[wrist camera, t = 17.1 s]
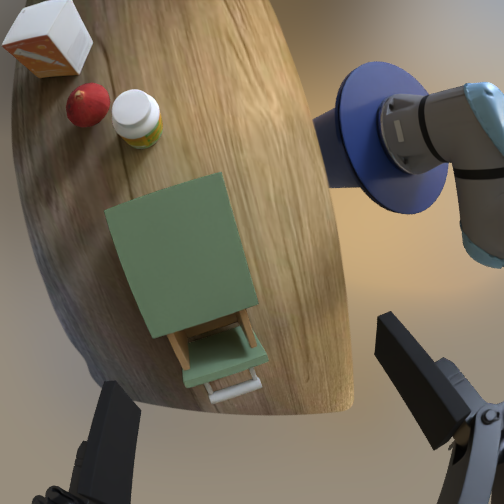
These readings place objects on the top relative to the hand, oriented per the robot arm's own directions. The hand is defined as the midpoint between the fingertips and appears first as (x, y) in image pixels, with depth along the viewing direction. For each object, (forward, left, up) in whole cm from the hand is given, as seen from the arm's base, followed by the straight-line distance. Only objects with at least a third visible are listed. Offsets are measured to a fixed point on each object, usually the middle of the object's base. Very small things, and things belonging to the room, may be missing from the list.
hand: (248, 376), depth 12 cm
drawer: (+2, +8, -25) cm, 26 cm away
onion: (+9, -24, -26) cm, 36 cm away
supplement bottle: (+3, -19, -26) cm, 32 cm away
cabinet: (+2, -3, -26) cm, 26 cm away
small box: (+13, -36, -26) cm, 46 cm away
